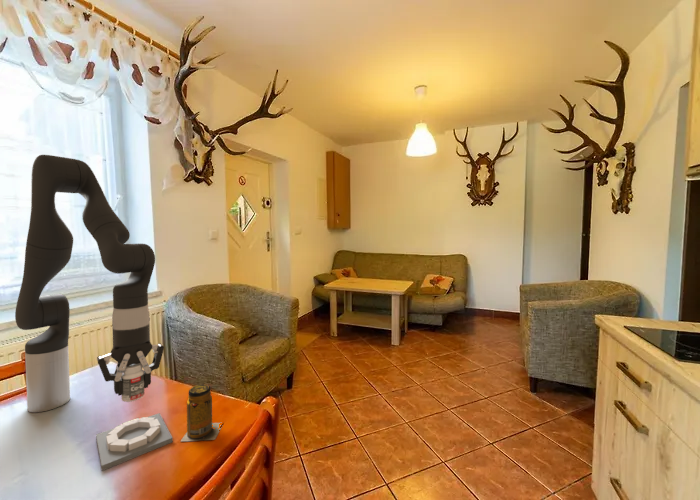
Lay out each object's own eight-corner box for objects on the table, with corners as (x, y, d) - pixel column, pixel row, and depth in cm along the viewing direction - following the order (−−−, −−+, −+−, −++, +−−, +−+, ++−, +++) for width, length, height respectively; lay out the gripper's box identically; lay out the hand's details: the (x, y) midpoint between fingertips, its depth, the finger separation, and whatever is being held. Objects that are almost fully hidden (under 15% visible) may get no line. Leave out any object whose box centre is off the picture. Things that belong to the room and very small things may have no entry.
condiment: (192, 424, 85) (191, 382, 84) (223, 423, 86) (223, 381, 85) (180, 442, 78) (179, 396, 77) (214, 440, 78) (214, 395, 78)
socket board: (96, 439, 78) (96, 428, 78) (159, 417, 88) (159, 407, 87) (101, 470, 68) (101, 459, 68) (172, 442, 78) (172, 431, 77)
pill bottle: (132, 403, 74) (131, 370, 74) (116, 401, 75) (115, 368, 75) (149, 393, 79) (148, 362, 78) (133, 391, 80) (133, 360, 79)
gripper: (161, 315, 84) (162, 376, 85) (92, 326, 74) (94, 394, 75) (168, 321, 78) (169, 386, 79) (95, 333, 68) (97, 407, 69)
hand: (133, 390), depth 77 cm, fingers closed on pill bottle, 4 cm apart
